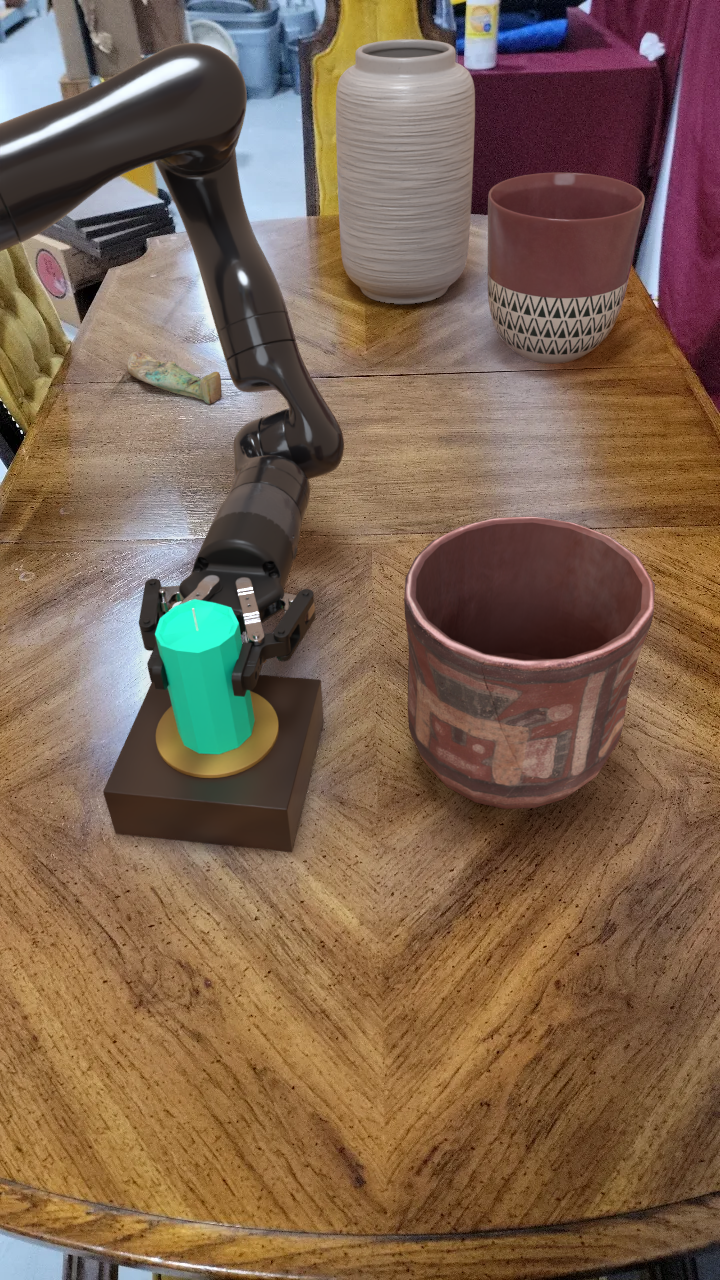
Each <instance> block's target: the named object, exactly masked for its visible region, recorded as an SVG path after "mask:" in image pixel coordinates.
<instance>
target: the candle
mask: <svg viewBox="0 0 720 1280" xmlns="http://www.w3.org/2000/svg"><path fill="white" fill-rule="evenodd" d="M179 604H180V603H179ZM179 604H177V605H175V606H173V607H172V608H171V609H170V610H169V611H168V612H167V613H166V614H165V615H163V616H162V617H161V618H160V620H159V623H158V626H157V629H156V632H155V637H156V641H157V645H158V649H159V653H160V656H161V659H162V661H163V663H164V667H165V671H166V676H167V680H168V684H169V685H168V691H169V695H170V699H171V703H172V708H173V712H174V716H175V720H176V724H177V728H178V732H179V735H180V737H181V739H182V741H183V744H184V745H185V746H186V747H188V748H190V749H192V750H194V751H195V752H197V753H199V754H222V753H224V752H227V751H230V750H233V749H236V748H238V747H239V746H240V745H241V744H243V743H244V742H245V741H246V740H247V739H248V738H249V737H250V736H251V734H252V730H253V726H254V722H255V719H254V713H253V707H252V700H251V694H250V690H247V691H246V694H245V696H244V697H241V696H234V693H233V686H232V672H233V669H234V667H235V664H236V661H237V659H238V658H239V655H240V651H241V647H242V644H243V640H242V635H241V633H240V627H239V622H238V620H237V618H236V616H235V614H234V612H233V610H232V608H231V607H228V606H224V605H221V604H217V603H213V602H207V601H202V600H197V599H194V600H191V601H188V602H185V603H183V604H180V605H179Z"/></svg>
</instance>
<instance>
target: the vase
mask: <svg viewBox="0 0 720 1280" xmlns="http://www.w3.org/2000/svg"><path fill="white" fill-rule="evenodd" d="M473 79H474V78H473V77H472V75H471V73H470V71H469V70H468V69H467V68H466V67H464V66H463V65H462V64H460V63H459V62H456V49H455V46H453V45H452V44H449V43H448V42H443V41H439V40H433V39H432V40H431V39H417V38H416V39H414V38H413V39H412V38H410V39H409V38H405V39H404V38H403V39H390V40H389V39H388V40H380V41H375V42H370V43H365V44H363V45H361V46H360V47H358V48H357V49H356V50H355V63H354V64H352V65H351V66H349V67H347V69H346V70H345V71H344V72H343V73H342V74H341V76H340V77H339V79H338V81H337V86H336V91H335V92H336V94H335V141H336V168H337V169H336V170H337V171H336V174H337V175H336V176H337V198H338V199H337V200H338V220H339V222H338V223H339V243H340V255H341V260H342V261H341V262H342V266H343V269H344V271H345V273H346V275H347V277H348V278H349V279H350V280H351V282H353V283H354V284H355V285H356V286H357V287H359V289H360V291H361V293H362V294H363V295H364V296H366V297H367V298H368V299H370V300H373V301H376V302H379V301H380V302H379V303H384V302H385V304H390V303H394V304H393V305H415V303H417V304H422V302H423V303H428V302H430V301H434V300H436V298H437V299H439V298H440V297H442V296H443V295H445V294H446V292H447V291H448V290H449V287H450V286H451V285H453V284H454V283H455V282H457V280H459V278H460V277H461V276H462V274H463V273H464V270H465V268H466V265H467V262H468V255H469V248H470V247H469V246H470V232H471V218H472V217H471V216H472V215H471V214H472V201H473V200H472V199H473V198H472V196H473V177H474V154H475V128H476V127H475V126H476V125H475V123H476V89H475V83H474V80H473Z"/></svg>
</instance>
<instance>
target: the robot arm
mask: <svg viewBox="0 0 720 1280" xmlns="http://www.w3.org/2000/svg"><path fill="white" fill-rule="evenodd" d="M246 85H247V84H246V82H245V78H244V76H243V73H242V71H241V69H240V67H239V66H238V64H237V63H236V62H235V61H234V60H233V59H232V58H231V57H230V56H229V55H228V54H226V53H225V52H223V51H222V50H221V49H218V48H216V47H213V46H211V45H208V44H204V43H199V42H185V43H180V44H175V45H171V46H169V47H166V48H164V49H162V50H160V51H157V52H155V53H153V54H152V55H150V56H148V57H146V58H144V59H143V60H140V61H139V62H136V63H135V64H133V65H132V66H130V67H128V68H126V69H123V70H122V71H121V72H119V73H117V74H114V75H113V76H111V77H110V78H107V79H106V80H104V81H102V82H100V83H98V84H96V85H93V86H92V87H90V88H88V89H86V90H84V91H81V92H79V93H77V94H75V95H72V96H70V97H67V98H63V99H62V100H59V101H56V102H53V103H50V104H47V105H44V106H42V107H39V108H36V109H34V110H31V111H28V112H25V113H23V114H20V115H18V116H16V117H13V118H11V119H8V120H5V121H3V122H0V252H3V251H5V250H8V249H10V248H13V247H14V246H17V245H19V244H20V243H21V244H22V243H24V242H26V241H28V240H30V239H32V238H33V237H35V236H37V235H39V234H41V233H43V232H45V231H46V230H48V229H49V228H51V227H52V226H54V225H55V224H57V223H58V222H59V221H61V220H62V219H63V218H64V217H66V216H67V215H68V214H70V213H71V212H73V211H74V210H75V209H76V208H77V207H79V206H80V205H81V204H82V203H83V202H85V201H86V200H87V199H89V198H90V197H92V195H94V194H95V193H96V192H97V191H99V190H100V189H101V188H102V187H104V186H106V185H107V184H108V183H110V182H112V181H114V180H115V179H117V178H119V177H120V176H122V175H124V174H127V173H129V172H131V171H133V170H136V169H139V168H141V167H144V166H147V165H150V164H152V163H155V165H156V167H157V169H158V172H159V173H160V175H161V178H162V179H163V182H164V184H165V186H166V188H167V190H168V193H169V194H170V196H171V198H172V201H173V202H174V205H175V207H176V209H177V212H178V214H179V217H180V219H181V221H182V224H183V227H184V229H185V231H186V235H187V237H188V240H189V243H190V245H191V247H192V251H193V254H194V257H195V260H196V263H197V267H198V270H199V275H200V277H201V281H202V284H203V287H204V291H205V294H206V299H207V301H208V305H209V309H210V313H211V315H212V319H213V323H214V326H215V329H216V334H217V336H218V341H219V343H220V347H221V351H222V353H223V354H222V355H223V357H224V360H225V363H226V367H227V370H228V374H229V377H230V379H231V382H232V384H233V385H234V387H235V388H236V389H237V390H238V391H240V392H242V393H249V394H250V393H260V392H261V393H262V392H268V391H276V392H278V394H280V395H281V396H282V398H284V400H285V401H286V403H287V406H288V408H287V407H286V408H285V409H281V410H278V411H276V412H273V413H270V414H268V415H264V416H261V417H259V418H255V419H252V420H251V421H249V422H248V423H246V424H244V425H243V426H242V427H241V428H240V429H239V431H237V433H236V435H235V437H234V439H233V444H232V445H233V447H232V449H233V460H234V462H233V463H234V465H233V466H234V467H233V482H232V484H231V486H230V488H229V491H228V493H227V496H226V498H225V499H224V501H223V502H222V504H221V505H220V507H218V510H217V512H216V514H215V515H214V517H213V519H212V521H211V524H210V527H209V529H208V531H207V533H206V536H205V537H204V540H203V542H202V545H201V547H200V549H199V551H198V553H197V556H196V558H195V560H194V564H193V566H192V570H191V573H190V574H189V575H188V576H187V577H185V578H184V579H183V580H182V581H181V582H180V584H179V585H169V586H162V584H161V580H160V579H158V578H149V579H147V580H146V581H145V583H144V586H143V587H144V588H143V593H142V600H141V606H140V612H139V613H140V614H139V619H138V626H139V631H140V635H141V639H142V643H143V648H144V650H146V651H148V652H151V654H150V656H149V657H148V660H147V663H146V664H147V670H148V671H147V672H148V676H149V679H150V683H152V682H154V685H155V689H159V690H166V689H167V687H168V685H169V684H168V680H167V676H166V671H165V667H164V663H163V661H162V659H161V656H160V653H159V649H158V645H157V641H156V637H155V632H156V629H157V626H158V623H159V620H160V618H161V617H162V616H163V615H165V614H166V613H167V612H168V611H170V610H171V609H172V608H173V607H174V605H175V604H176V603H178V605H180V604H183V603H185V602H188V601H191V600H194V599H197V600H202V601H207V602H213V603H217V604H221V605H224V606H228V607H231V608H232V610H233V612H234V614H235V616H236V618H237V620H238V622H239V627H240V633H241V636H242V635H244V639H245V641H242V647H241V651H240V655H239V658H238V659H237V661H236V664H235V667H234V669H233V672H232V686H233V693H234V696H241V697H244V696H245V694H246V691H247V690H253V688H254V687H255V686H256V684H257V681H258V678H259V675H261V671H262V669H263V666H264V664H266V663H267V662H268V660H270V659H274V658H276V660H278V661H279V662H287V661H289V660H291V659H292V658H293V655H294V654H295V653H296V651H297V649H298V648H299V646H300V644H301V643H302V641H303V639H304V638H305V636H306V634H307V633H308V631H309V630H310V628H311V626H312V625H313V623H314V621H315V620H316V607H315V606H316V605H315V595H314V591H313V590H312V589H309V588H303V589H301V590H299V591H298V593H296V594H293V593H288V592H285V587H286V584H287V581H288V578H289V575H290V571H291V569H292V566H293V563H294V561H295V560H296V557H297V554H298V549H299V548H298V547H299V542H300V536H301V528H302V525H303V522H304V519H305V516H306V513H307V510H308V506H309V503H310V497H311V485H310V481H309V480H311V479H315V478H318V477H321V476H326V475H328V474H330V473H332V472H334V471H335V470H337V468H338V467H339V466H340V464H341V462H342V459H343V457H344V452H345V440H344V439H345V438H344V434H343V431H342V428H341V426H340V424H339V422H338V420H337V418H336V416H335V414H334V413H333V411H332V410H331V408H330V407H329V405H328V403H327V402H326V400H325V399H324V398H323V396H322V394H321V392H320V391H319V389H318V387H317V385H316V383H315V381H314V380H313V378H312V376H311V374H310V372H309V370H308V368H307V366H306V364H305V362H304V360H303V357H302V355H301V352H300V349H299V346H298V343H297V340H296V336H295V332H294V329H293V326H292V322H291V319H290V315H289V312H288V308H287V305H286V302H285V299H284V296H283V293H282V290H281V287H280V285H279V283H278V280H277V278H276V276H275V273H274V271H273V269H272V267H271V264H270V263H269V261H268V259H267V257H266V255H265V253H264V251H263V250H262V247H261V246H260V243H259V242H258V239H257V237H256V235H255V233H254V231H253V228H252V225H251V222H250V219H249V216H248V213H247V209H246V206H245V202H244V198H243V194H242V190H241V189H242V188H241V182H240V177H239V169H238V168H239V167H238V159H237V151H236V148H237V145H238V143H239V139H240V136H241V133H242V129H243V127H244V123H245V118H246V113H247V99H248V97H247V86H246ZM283 610H284V614H283V616H282V617H281V619H280V621H279V622H278V623H277V625H276V626H275V628H274V629H273V631H272V632H270V633H265V632H264V628H263V625H262V624H263V623H265V622H266V621H268V620H270V619H271V618H273V617H275V616H276V615H277V614H279V613H280V612H282V611H283Z"/></svg>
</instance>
